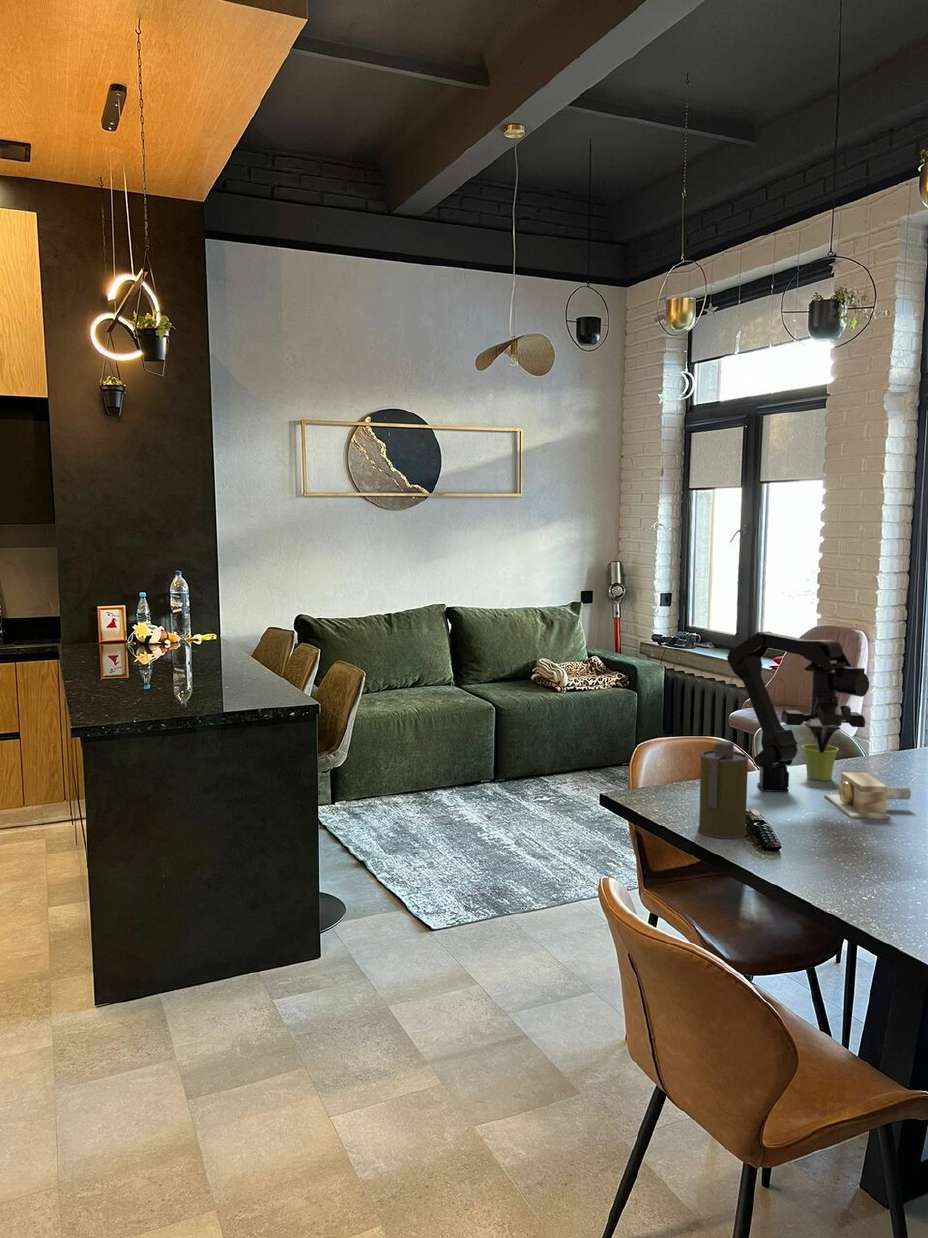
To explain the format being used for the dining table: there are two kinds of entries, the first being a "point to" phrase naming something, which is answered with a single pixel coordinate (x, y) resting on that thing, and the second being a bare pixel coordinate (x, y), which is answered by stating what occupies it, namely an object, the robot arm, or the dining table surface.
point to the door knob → (892, 793)
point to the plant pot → (819, 761)
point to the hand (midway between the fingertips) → (821, 752)
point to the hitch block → (863, 797)
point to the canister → (723, 792)
